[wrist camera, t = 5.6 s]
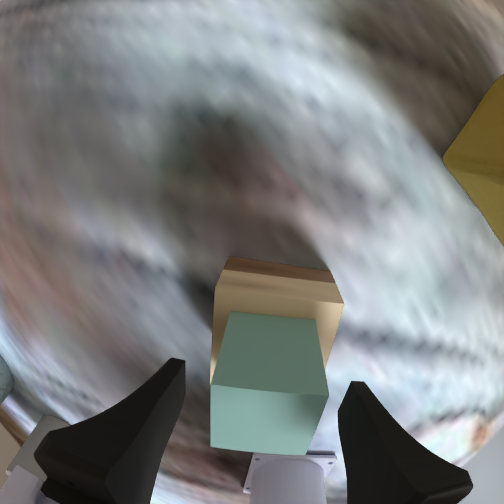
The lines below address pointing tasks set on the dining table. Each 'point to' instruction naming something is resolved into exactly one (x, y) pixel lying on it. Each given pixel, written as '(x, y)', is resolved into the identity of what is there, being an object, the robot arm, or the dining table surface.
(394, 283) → the dining table surface
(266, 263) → the walnut slab
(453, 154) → the flower pot
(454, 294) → the dining table surface
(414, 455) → the robot arm
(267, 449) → the teal block
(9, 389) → the grey-green embossed container
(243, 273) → the oak slab
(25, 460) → the cup
